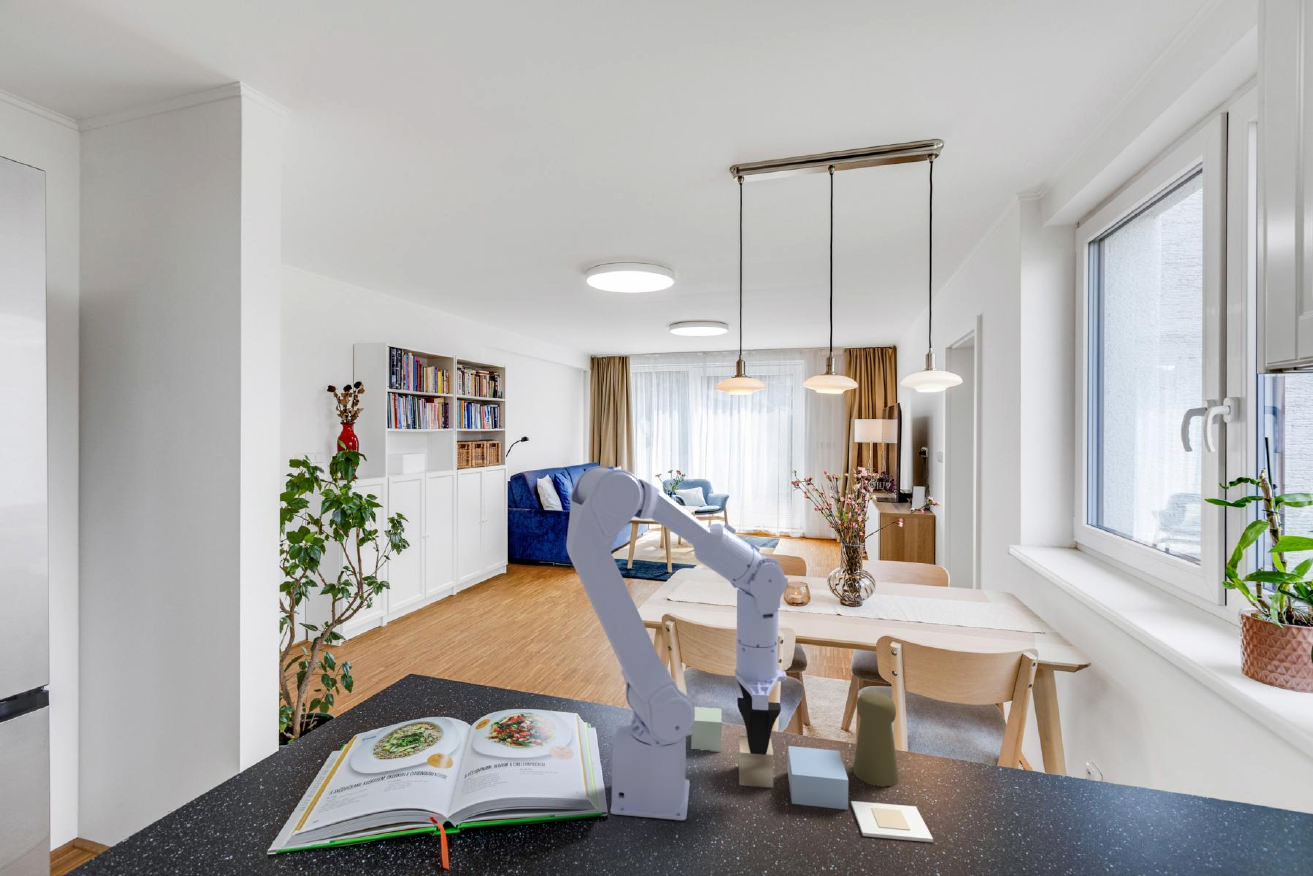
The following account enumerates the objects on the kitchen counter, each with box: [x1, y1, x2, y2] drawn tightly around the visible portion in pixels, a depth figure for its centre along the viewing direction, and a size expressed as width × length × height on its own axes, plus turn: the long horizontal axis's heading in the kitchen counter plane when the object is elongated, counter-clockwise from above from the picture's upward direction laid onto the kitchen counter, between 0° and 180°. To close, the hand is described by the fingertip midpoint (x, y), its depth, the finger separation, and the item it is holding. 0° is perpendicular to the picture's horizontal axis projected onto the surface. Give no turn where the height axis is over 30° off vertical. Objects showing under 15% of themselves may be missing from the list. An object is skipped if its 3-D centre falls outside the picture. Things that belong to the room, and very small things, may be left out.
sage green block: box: [690, 706, 723, 753], centre depth 88 cm, size 4×4×4 cm
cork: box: [852, 691, 900, 788], centre depth 80 cm, size 6×6×11 cm
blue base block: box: [787, 745, 849, 811], centre depth 76 cm, size 7×7×4 cm
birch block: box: [738, 735, 774, 789], centre depth 79 cm, size 4×4×4 cm
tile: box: [850, 800, 934, 843], centre depth 70 cm, size 8×6×1 cm
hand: (756, 738), depth 79 cm, fingers open, 7 cm apart
